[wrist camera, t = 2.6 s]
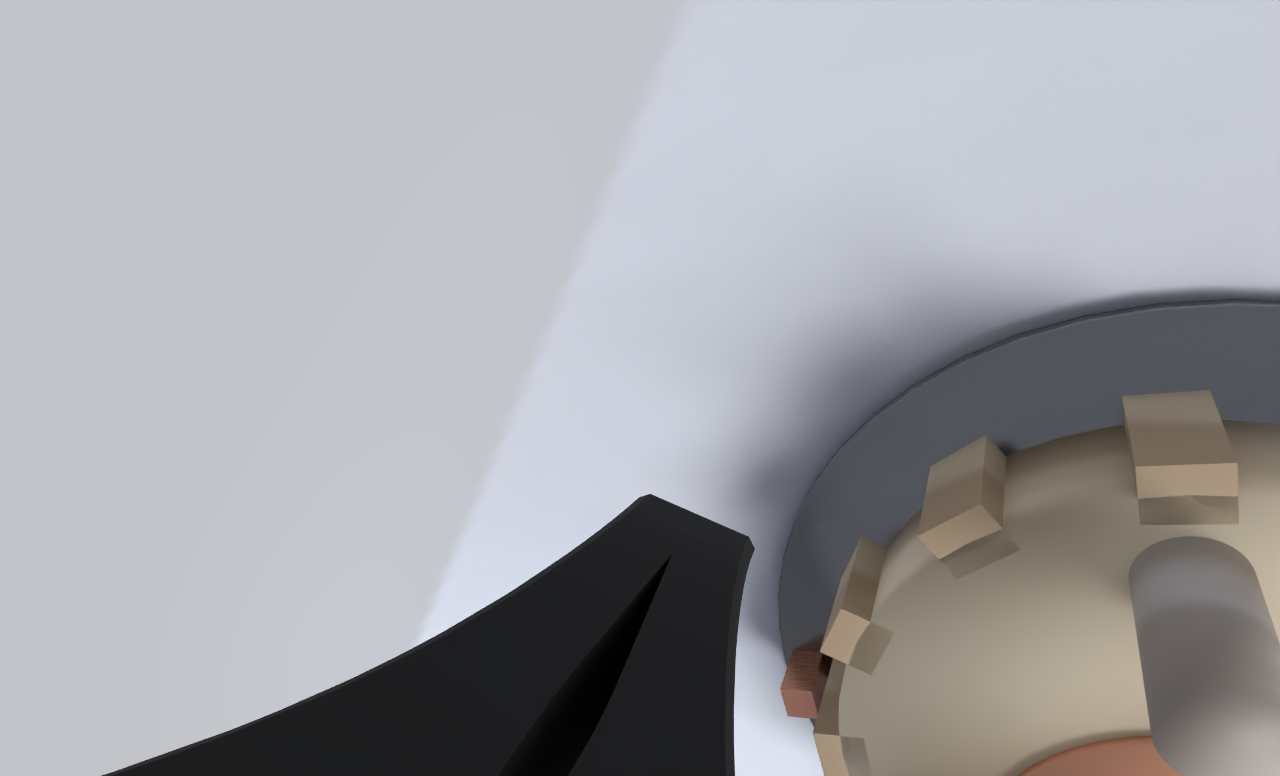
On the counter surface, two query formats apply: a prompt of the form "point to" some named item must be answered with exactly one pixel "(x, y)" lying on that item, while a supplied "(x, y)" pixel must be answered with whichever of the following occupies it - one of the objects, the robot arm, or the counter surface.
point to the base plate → (1009, 434)
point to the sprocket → (1071, 610)
